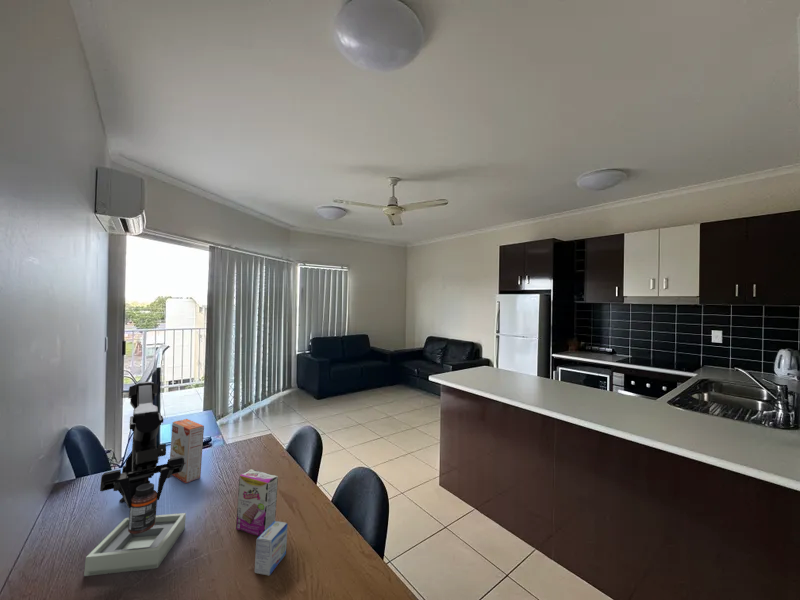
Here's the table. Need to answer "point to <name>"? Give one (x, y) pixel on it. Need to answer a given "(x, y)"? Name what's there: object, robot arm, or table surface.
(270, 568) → the medicine box
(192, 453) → the cracker box
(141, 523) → the supplement bottle
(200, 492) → the table surface
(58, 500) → the table surface
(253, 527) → the candy bar box
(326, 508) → the table surface
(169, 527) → the bore box
